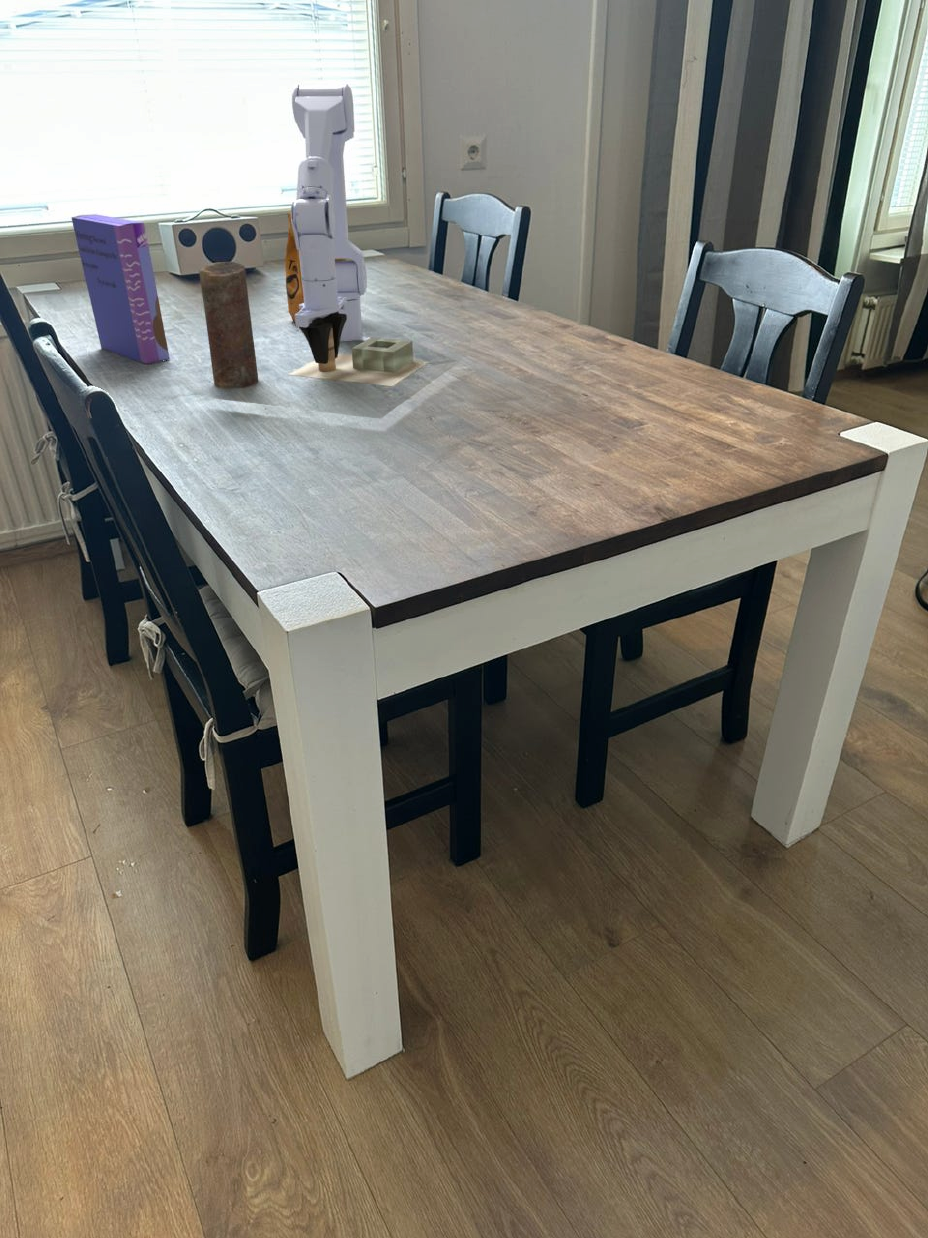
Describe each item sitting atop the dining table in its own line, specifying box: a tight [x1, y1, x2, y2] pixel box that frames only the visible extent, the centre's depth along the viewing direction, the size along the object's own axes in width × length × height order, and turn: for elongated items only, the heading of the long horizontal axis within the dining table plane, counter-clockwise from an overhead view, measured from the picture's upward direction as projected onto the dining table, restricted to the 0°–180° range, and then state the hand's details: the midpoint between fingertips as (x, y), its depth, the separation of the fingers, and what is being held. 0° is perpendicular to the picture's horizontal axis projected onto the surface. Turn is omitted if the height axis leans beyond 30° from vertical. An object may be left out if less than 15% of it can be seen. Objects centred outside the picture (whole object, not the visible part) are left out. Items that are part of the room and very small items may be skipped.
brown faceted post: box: [198, 261, 259, 390], centre depth 142 cm, size 8×7×20 cm
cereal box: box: [71, 213, 170, 366], centre depth 162 cm, size 17×5×24 cm, turn 47°
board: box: [287, 336, 429, 387], centre depth 152 cm, size 20×15×5 cm
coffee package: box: [284, 211, 347, 323], centre depth 183 cm, size 10×12×22 cm
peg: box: [318, 327, 336, 372], centre depth 151 cm, size 3×3×7 cm
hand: (326, 360), depth 152 cm, fingers closed on peg, 3 cm apart
